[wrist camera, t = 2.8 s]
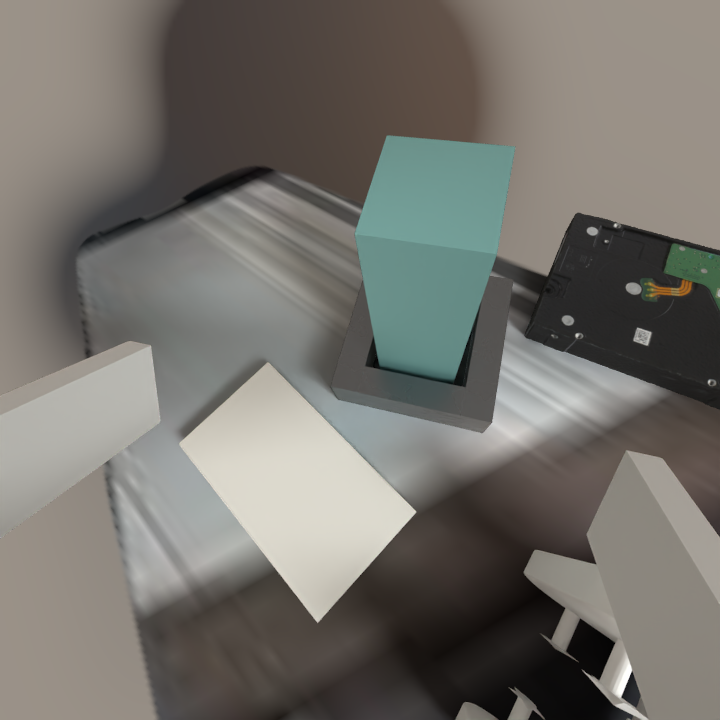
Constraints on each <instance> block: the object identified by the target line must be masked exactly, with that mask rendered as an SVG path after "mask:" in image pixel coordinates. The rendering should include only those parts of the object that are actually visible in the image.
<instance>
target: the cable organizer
mask: <svg viewBox="0 0 720 720" xmlns="http://www.w3.org/2000/svg"><path fill="white" fill-rule="evenodd" d="M524 574H525V576H526V577H527V578H528V579H529V580H530V581H531V582H532V583H533V584H534V585H536V586H537V587H538V588H539V589H540V590H542V591H543V592H544V593H545V594H547V595H548V596H549V597H551V598H552V599H553V600H555V601H556V602H558V603H559V604H560V605H562V606H563V607H565V610H564V613H563V615H562V617H561V619H560V621H559V624H558V626H557V628H556V630H555V633H554V635H553V637H552V639H551V640H550V639H549V638H547V637H546V636H545V635H542V634H541V633H540V634H541V635H542V636H543V637H544V638H545V639H546V640H547V641H548V642H549V643H550V644H551V645H552V646H553V647H554V648H555V649H557V650H558V651H560V652H562V653H564V654H565V655H567V656H569V657H571V658H572V659H574V658H573V657H572V656H571V655H569V654H568V653H567V652H566V649H567V647H568V645H569V643H570V640H571V638H572V636H573V634H574V631H575V629H576V627H577V624H578V622H579V620H580V618H581V619H582V620H583V621H585V622H586V623H588V624H589V625H591V626H592V627H594V628H595V629H596V630H598V631H599V632H601V633H602V634H604V635H605V636H607V637H608V638H609V639H611V640H612V641H614V642H615V645H614V647H613V650H612V652H611V654H610V657H609V659H608V661H607V664H606V666H605V668H604V671H603V673H602V675H601V678H600V680H597V679H596V678H595V677H594V676H593V677H592V676H590V675H589V674H587V673H586V672H584V671H583V672H584V673H585V674H586V675H587V676H588V677H589V678H590V679H591V680H592V682H593V683H594V684H595V685H596V686H597V687H598V688H599V689H600V690H601V692H602V693H603V694H604V695H605V696H606V697H607V698H608V699H609V700H610V702H611V703H612V704H613V705H614V706H616V707H618V708H620V709H622V710H624V711H626V712H628V713H630V714H632V715H634V716H633V718H632V720H649V718H648V715H647V712H646V709H645V706H644V703H643V700H642V697H640V700H639V702H638V705H637V708H635V707H634V706H632V705H631V704H630V703H628V702H627V701H625V700H624V699H623V698H621V696H622V694H623V691H624V689H625V686H626V684H627V682H628V679H629V677H630V674H631V672H632V668H631V665H630V662H629V659H628V656H627V653H626V650H625V647H624V644H623V641H622V638H621V635H620V632H619V629H618V626H617V623H616V620H615V617H614V614H613V611H612V608H611V606H610V603H609V600H608V597H607V594H606V591H605V588H604V585H603V582H602V579H601V576H600V573H599V570H598V567H597V565H596V564H592V563H588V562H584V561H580V560H576V559H572V558H568V557H564V556H560V555H556V554H552V553H548V552H544V551H540V550H534V552H533V554H532V556H531V558H530V560H529V562H528V564H527V566H526V568H525V570H524ZM574 660H576V659H574ZM576 661H577V660H576ZM510 689H511V688H510ZM515 689H516V691H514V690H512V689H511V690H512V691H513V692H514V693H515V694H516V695H517V696H518V698H517V700H516V702H515V704H514V707H513V709H512V711H511V713H510V715H509V718H508V720H528V719H529V717H530V714H531V712H532V710H534V711H535V712H536V713H537V714H539V715H540V716H541V717H542V718H543V719H545V718H544V717H543V716H542V715H541V713H540V712H539V711H538V710H537V706H536V705H535V704H534V703H533V702H532V701H531V700H530V699H529V698H527V697H526V696H525V695H524V694H523V693H521V692H520V691H519V690H518V689H517V688H515ZM455 720H498V719H497V718H496V717H494V716H493V715H491V714H490V713H489V712H487V711H486V710H484V709H482V708H481V707H479V706H477V705H475V704H472V703H470V702H464V703H463V705H462V707H461V709H460V711H459V713H458V715H457V717H456V719H455ZM627 720H631V719H629V718H627Z"/></svg>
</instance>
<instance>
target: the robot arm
mask: <svg viewBox="0 0 720 720" xmlns="http://www.w3.org/2000/svg"><path fill="white" fill-rule="evenodd" d="M160 422H161V420H160V412H159V404H158V396H157V389H156V381H155V373H154V365H153V358H152V350H151V345H147V344H142V343H138V342H133V341H128V342H125V343H123V344H120V345H118V346H116V347H113V348H111V349H109V350H106V351H104V352H101V353H99V354H97V355H94V356H92V357H90V358H87V359H85V360H83V361H80V362H78V363H75V364H73V365H71V366H68V367H66V368H64V369H61V370H59V371H57V372H54V373H52V374H50V375H47V376H45V377H42V378H40V379H38V380H35V381H33V382H30V383H28V384H26V385H24V386H21V387H18V388H16V389H14V390H12V391H9V392H7V393H5V394H2V395H0V538H2V537H3V536H4V535H6V534H7V533H9V532H10V531H11V530H13V529H14V528H15V527H17V526H18V525H20V524H21V523H22V522H24V521H25V520H27V519H28V518H29V517H31V516H32V515H33V514H35V513H36V512H38V511H39V510H40V509H42V508H43V507H44V506H46V505H47V504H48V503H50V502H51V501H52V500H54V499H55V498H57V497H58V496H60V495H61V494H62V493H64V492H65V491H66V490H68V489H69V488H70V487H72V486H73V485H75V484H76V483H78V482H79V481H80V480H82V479H83V478H84V477H86V476H87V475H88V474H90V473H91V472H93V471H94V470H95V469H97V468H98V467H100V466H101V465H102V464H104V463H105V462H107V461H108V460H109V459H111V458H112V457H113V456H115V455H116V454H118V453H119V452H120V451H122V450H123V449H124V448H126V447H127V446H129V445H130V444H131V443H133V442H134V441H135V440H137V439H138V438H140V437H141V436H142V435H144V434H145V433H146V432H148V431H149V430H151V429H152V428H153V427H155V426H156V425H158V424H159V423H160ZM587 537H588V540H589V543H590V546H591V549H592V552H593V555H594V558H595V561H596V564H597V567H598V570H599V573H600V576H601V579H602V582H603V585H604V588H605V591H606V594H607V597H608V600H609V603H610V606H611V608H612V611H613V614H614V617H615V620H616V623H617V626H618V629H619V632H620V635H621V638H622V641H623V644H624V647H625V650H626V653H627V656H628V659H629V662H630V665H631V668H632V671H633V674H634V677H635V680H636V683H637V686H638V689H639V692H640V694H641V697H642V700H643V703H644V706H645V709H646V712H647V715H648V718H649V720H720V537H719V536H718V534H717V533H716V532H715V530H714V529H713V528H712V526H711V525H710V523H709V522H708V521H707V519H706V518H705V517H704V515H703V514H702V512H701V511H700V510H699V508H698V507H697V505H696V504H695V503H694V501H693V500H692V499H691V497H690V496H689V494H688V493H687V492H686V490H685V489H684V488H683V486H682V485H681V483H680V482H679V481H678V479H677V478H676V476H675V475H674V474H673V472H672V471H671V470H670V468H669V467H668V465H667V464H666V463H665V461H664V460H663V459H662V458H659V457H655V456H650V455H646V454H641V453H637V452H632V451H628V450H626V452H625V454H624V456H623V458H622V460H621V462H620V464H619V467H618V469H617V471H616V473H615V475H614V477H613V479H612V481H611V484H610V486H609V488H608V490H607V492H606V494H605V496H604V498H603V501H602V503H601V505H600V507H599V509H598V511H597V513H596V515H595V517H594V520H593V522H592V524H591V526H590V528H589V530H588V532H587Z"/></svg>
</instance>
